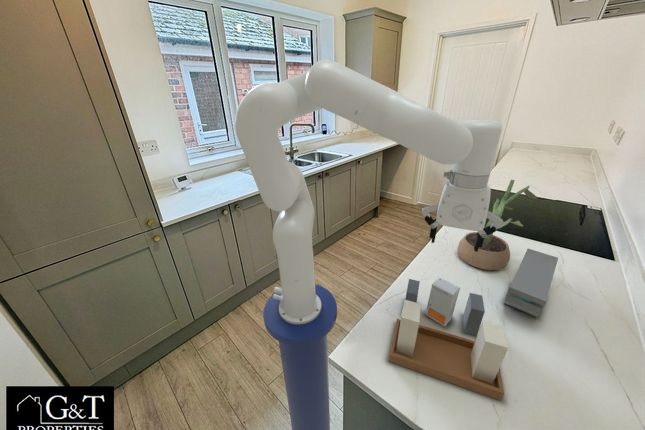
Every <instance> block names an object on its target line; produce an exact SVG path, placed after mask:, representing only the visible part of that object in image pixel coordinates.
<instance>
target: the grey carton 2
mask: <svg viewBox="0 0 645 430" xmlns="http://www.w3.org/2000/svg"><path fill="white" fill-rule="evenodd" d="M484 304H485V303H484V297H483V295H481V294H477V293H473V292H469V295H468V298H467V301H466V305H465V307H464V312H463V315H462V323H463V333H464V334H468V335H471V336H475V337H477V334H478V331H479V329H480V326H481V323H482V320H483V318H484V315H485V314H486V313H485V312H486V311H485V305H484Z"/></svg>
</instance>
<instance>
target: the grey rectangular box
mask: <svg viewBox="0 0 645 430" xmlns="http://www.w3.org/2000/svg"><path fill="white" fill-rule="evenodd" d="M558 262H559V257H557V256H555V255H551V254H547V253H544V252H541V251H539V250H535V249H531V248H527V249H526V251H525V253H524V255H523V258H522V259H521V262H520V264H519V266H518V268H517V270H516V273H515V274H514V276H513V279H512V281H511V283H510V285H509V287H508V290H507V293H506V296H505V299H504V304H505V305H507V306H509V307H512V308H514V309H516V310H519V311H521V312H523V313H526V314H528V315H530V316H533V317H535V318H537V317H540V315H541V313H542V310H543V308H544V307H545V305H546V304H547V300H548V296H549V293H550V290H551V285H552V282H553V279H554V275H555V271H556V269H557V268H556V267H557V264H558Z"/></svg>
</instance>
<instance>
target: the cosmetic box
mask: <svg viewBox="0 0 645 430" xmlns="http://www.w3.org/2000/svg"><path fill="white" fill-rule="evenodd" d="M460 291H461V287H460V286H458V285H455V284H454V283H452V282H450V281H449V280H445V279H444V278H442V277H437V278H436V280H434V281H433V282H432V284H431V287H430V292H429V296H428V301H427V306H426V310H425V316H426V317H429V319H432V320H434V322H436V323H438V324H440V325H441V326H443V327H446V326H447V325H448V324H449V323H450V321H451V320H452V319H453V315H454V312H455V308H456V304H457V301H458V297H459V294H460Z"/></svg>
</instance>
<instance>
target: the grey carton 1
mask: <svg viewBox="0 0 645 430" xmlns="http://www.w3.org/2000/svg"><path fill="white" fill-rule="evenodd" d="M420 283H421V281H420V280H417V279H411V278H408V282H407V287H406V293H405V299H404V300H408V301H412V302H416V303H418V302H417V301H418V296H419V289H420Z"/></svg>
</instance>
